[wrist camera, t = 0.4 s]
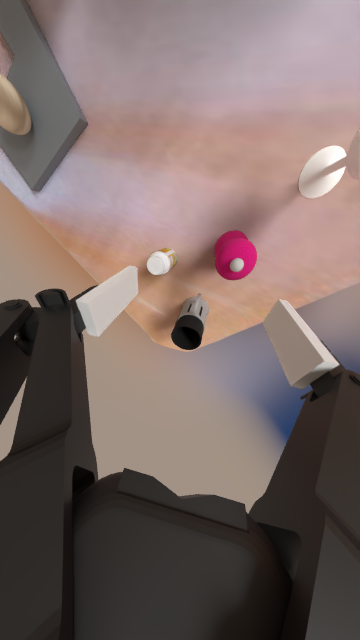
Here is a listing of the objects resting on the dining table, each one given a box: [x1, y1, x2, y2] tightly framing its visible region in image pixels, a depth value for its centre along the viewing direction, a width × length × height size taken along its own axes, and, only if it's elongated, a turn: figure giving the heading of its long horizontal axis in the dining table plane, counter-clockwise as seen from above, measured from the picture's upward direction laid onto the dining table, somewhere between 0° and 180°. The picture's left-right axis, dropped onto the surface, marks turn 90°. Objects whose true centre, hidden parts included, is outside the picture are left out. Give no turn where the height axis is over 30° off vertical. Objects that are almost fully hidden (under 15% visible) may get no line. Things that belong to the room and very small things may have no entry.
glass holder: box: [171, 294, 209, 350], centre depth 39 cm, size 9×14×15 cm, turn 168°
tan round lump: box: [0, 74, 31, 135], centre depth 26 cm, size 7×7×7 cm
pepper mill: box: [215, 231, 257, 280], centre depth 27 cm, size 7×7×20 cm
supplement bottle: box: [147, 248, 177, 275], centre depth 36 cm, size 5×5×10 cm
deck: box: [0, 0, 88, 191], centre depth 28 cm, size 25×22×2 cm
